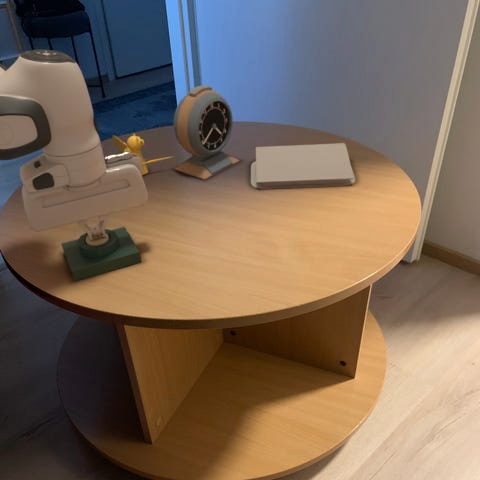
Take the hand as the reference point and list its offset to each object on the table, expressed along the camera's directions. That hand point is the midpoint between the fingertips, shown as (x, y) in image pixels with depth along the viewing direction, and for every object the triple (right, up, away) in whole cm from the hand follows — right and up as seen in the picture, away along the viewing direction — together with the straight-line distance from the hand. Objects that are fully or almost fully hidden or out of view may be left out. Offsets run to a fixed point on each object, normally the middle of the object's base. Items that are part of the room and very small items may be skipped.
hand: (97, 237), depth 89 cm
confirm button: (0, -1, +1) cm, 2 cm away
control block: (0, -3, +3) cm, 4 cm away
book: (+39, +19, +26) cm, 51 cm away
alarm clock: (+18, +22, +31) cm, 42 cm away
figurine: (+4, +21, +31) cm, 38 cm away
